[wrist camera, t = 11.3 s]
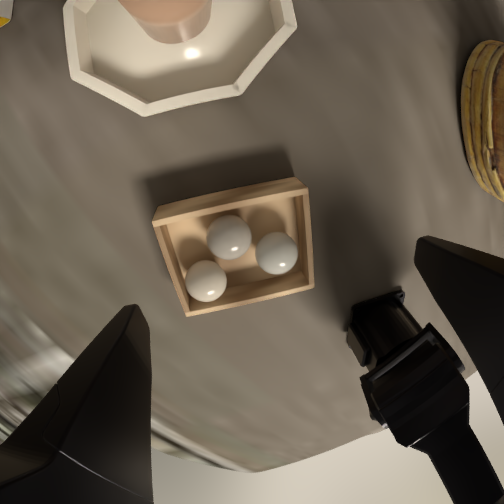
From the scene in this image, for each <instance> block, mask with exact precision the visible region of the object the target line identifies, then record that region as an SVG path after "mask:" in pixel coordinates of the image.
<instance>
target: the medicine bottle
mask: <svg viewBox="0 0 504 504" xmlns="http://www.w3.org/2000/svg"><path fill="white" fill-rule="evenodd" d="M13 1H14V0H0V28H1V27H2V26H4V25H5V24H7V23H8V22H10V20H11V18H12V9H13Z"/></svg>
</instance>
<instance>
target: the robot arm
mask: <svg viewBox="0 0 504 504" xmlns="http://www.w3.org/2000/svg"><path fill="white" fill-rule="evenodd" d="M414 263H415V266H416V268H417V269H418V271H419V273H420V274H421V276H422V278H423V280H424V281H425V283H426V285H427V287H428V288H429V290H430V292H431V294H432V296H433V297H434V299H435V301H436V302H437V304H438V305H439V307H440V308H441V310H442V311H443V313H444V315H445V316H446V318H447V319H448V321H449V322H450V324H451V325H452V327H453V329H454V330H455V332H456V334H457V335H458V337H459V338H460V340H461V342H462V343H463V345H464V347H465V349H466V350H467V352H468V354H469V356H470V357H471V359H472V361H473V363H474V365H475V366H476V368H477V370H478V372H479V374H480V376H481V378H482V379H483V381H484V383H485V385H486V387H487V389H488V391H489V393H490V396H491V398H492V400H493V402H494V404H495V406H496V408H497V411H498V413H499V415H500V418H501V420H502V422H503V424H504V259H503V258H500V257H497V256H494V255H491V254H488V253H485V252H482V251H479V250H476V249H473V248H469V247H466V246H463V245H460V244H456V243H453V242H450V241H446V240H443V239H439V238H436V237H432V236H423V237H420V238H418V240H417V243H416V250H415V256H414ZM404 297H405V292H404V291H403V290H399V291H396V292H393V293H390V294H387V295H384V296H381V297H378V298H375V299H372V300H369V301H366V302H363V303H359V304H356V305H354V306H353V307H352V309H351V319H350V324H349V326H348V336H347V341H348V346H349V348H351V349H352V350H353V352H354V354H355V356H356V358H357V360H358V362H359V363H360V365H361V366H362V367H365V366H366V367H367V369H368V370H369V372H368V373H367V374H365V375H362V376H361V377H360V380H361V383H362V384H361V386H362V389H363V392H364V395H365V398H366V401H367V404H368V407H369V413H370V417H371V419H372V420H375V421H378V422H379V423H380V424H381V425H382V426H383V427H384V428H386V429H387V428H389V429H390V430H391V432H392V433H393V435H394V437H395V439H396V441H397V442H398V443H399V444H401V445H403V446H404V447H409V446H410V447H412V448H414V449H417V450H419V451H421V452H424V453H426V454H428V456H429V458H430V459H431V461H432V463H433V465H434V466H435V469H436V470H437V472H438V474H439V476H440V478H441V480H442V482H443V484H444V485H445V487H446V489H447V491H448V493H449V495H450V497H451V499H452V501H453V503H454V504H504V489H503V487H502V485H501V483H500V481H499V479H498V477H497V474H496V473H495V471H494V469H493V467H492V465H491V463H490V461H489V459H488V457H487V456H486V453H485V452H484V450H483V448H482V446H481V444H480V443H479V441H478V439H477V437H476V435H475V434H474V432H473V430H472V429H471V427H470V425H469V386H468V384H467V383H466V381H465V380H464V378H463V377H462V375H461V373H462V372H463V371H464V370H465V367H464V365H463V363H462V361H461V360H460V358H459V357H458V355H457V354H456V352H455V351H454V350H453V348H452V347H451V346H450V345H449V343H448V342H447V341H446V340H445V339H444V338H443V337H442V335H441V334H440V333H439V332H438V331H437V330H436V329H435V328H434V327H433V325H432V324H431V323H430V322H429V323H428V324H427V325H426V327H425V328H423V329H422V327H421V326H420V325H419V324H418V322H417V321H416V320H415V319H414V317H413V316H412V315H411V314H410V312H409V311H408V310H407V309H406V308H405V306H404V305H403V302H404ZM356 309H357V310H356ZM151 385H152V368H151V351H150V330H149V326H148V323H147V321H146V319H145V317H144V315H143V313H142V311H141V309H140V307H139V306H138V305H137V304H132V305H127V306H124V307H123V308H122V309H121V310H120V311H119V312H118V313H117V314H116V315H115V316H114V318H113V319H112V320H111V321H110V322H109V323H108V324H107V325H106V326H105V327H104V328H103V330H102V331H101V332H100V333H99V334H98V335H97V336H96V337H95V338H94V340H93V341H92V342H91V343H90V344H89V345H88V346H87V347H86V349H85V350H84V351H83V352H82V353H81V354H80V355H79V357H78V358H77V359H76V360H75V361H74V362H73V364H72V365H71V366H70V367H69V368H68V369H67V371H66V372H65V373H64V374H63V375H62V377H61V378H60V379H59V380H58V381H57V384H55V385H54V386H53V387H52V389H51V390H50V391H49V392H48V393H47V395H46V396H45V397H44V398H43V399H42V401H41V402H40V403H39V404H38V405H37V406H36V407H35V409H34V410H33V411H32V412H31V413H30V414H29V415H28V416H27V417H26V418H25V419H24V421H23V422H22V423H21V424H20V425H19V426H18V427H17V428H16V429H15V430H14V432H13V433H12V434H11V435H10V436H9V437H8V438H7V439H6V440H5V441H4V442H3V443H2V444H1V445H0V504H154V502H153V489H152V470H151Z"/></svg>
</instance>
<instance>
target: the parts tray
mask: <svg viewBox="0 0 504 504" xmlns="http://www.w3.org/2000/svg"><path fill="white" fill-rule="evenodd" d="M223 215H235V216H238V217H240V218H242V219H243V220H244V221H245V222H246V223H247V224H248V226H249V228H250V230H251V235H252V240H251V244H250V247H249V249H248V250H247V252H246V253H245V254H244V255H242V256H241V257H239V258H237V259H234V260H224V259H221V258H219V257H217V256H215V255H214V254H213V253H212V252H211V250H210V249H209V247H208V245H207V240H206V235H207V230H208V228H209V226H210V224H211V223H212V222H213V221H214V220H215V219H216V218H218V217H220V216H223ZM152 224H153V227H154V230H155V233H156V236H157V239H158V242H159V245H160V248H161V251H162V254H163V256H164V259H165V262H166V265H167V268H168V270H169V273H170V276H171V278H172V281H173V284H174V286H175V289H176V292H177V294H178V297H179V299H180V302H181V304H182V307H183V310H184V312H185V314H186V317H188V316H193V315H198V314H203V313H208V312H213V311H218V310H222V309H227V308H232V307H236V306H241V305H245V304H250V303H254V302H258V301H263V300H267V299H271V298H275V297H280V296H284V295H288V294H292V293H296V292H300V291H304V290H308V289H312V288H314V268H313V249H312V233H311V219H310V206H309V194H308V188H307V187H306V186H305V185H304V184H303V183H302V182H300V181H299V180H298V179H297V178H296V177H291V178H285V179H280V180H274V181H269V182H264V183H259V184H254V185H249V186H244V187H239V188H234V189H229V190H224V191H220V192H215V193H211V194H206V195H202V196H198V197H193V198H189V199H185V200H181V201H177V202H173V203H169V204H165V205H161V206H158V207H157V209H156V212H155V215H154V217H153V220H152ZM271 232H282V233H285V234H287V235H289V236H290V237H291V238H292V239H293V240H294V242H295V243H296V245H297V249H298V257H297V261H296V263H295V265H294V266H293V267H292V268H291V269H290V270H289V271H288V272H286V273H283V274H277V275H276V274H270V273H267V272H266V271H264V270H263V269H262V268H261V267H260V266H259V265H258V263H257V261H256V257H255V249H256V246H257V243H258V242H259V240H260V239H261V238H262V237H263V236H264V235H266V234H268V233H271ZM201 260H210V261H213V262H216V263H217V264H219V265H220V266H221V267H222V268H223V270H224V272H225V274H226V278H227V284H226V288H225V291H224V292H223V294H222V295H221V296H220V297H219V298H217V299H216V300H214V301H210V302H202V301H199V300H196V299H195V298H193V297H192V296H191V295H190V294H189V292H188V291H187V289H186V285H185V277H186V273H187V271H188V269H189V268H190V267H191V266H192V265H193V264H194V263H196V262H198V261H201Z"/></svg>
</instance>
